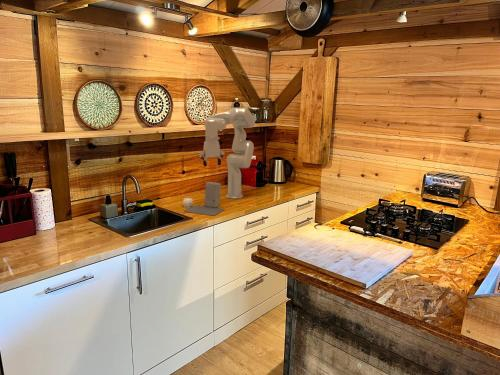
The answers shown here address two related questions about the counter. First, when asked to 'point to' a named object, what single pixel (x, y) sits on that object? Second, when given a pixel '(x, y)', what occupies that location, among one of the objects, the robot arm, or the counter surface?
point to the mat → (204, 210)
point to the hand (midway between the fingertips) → (212, 165)
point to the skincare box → (212, 194)
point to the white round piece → (187, 202)
